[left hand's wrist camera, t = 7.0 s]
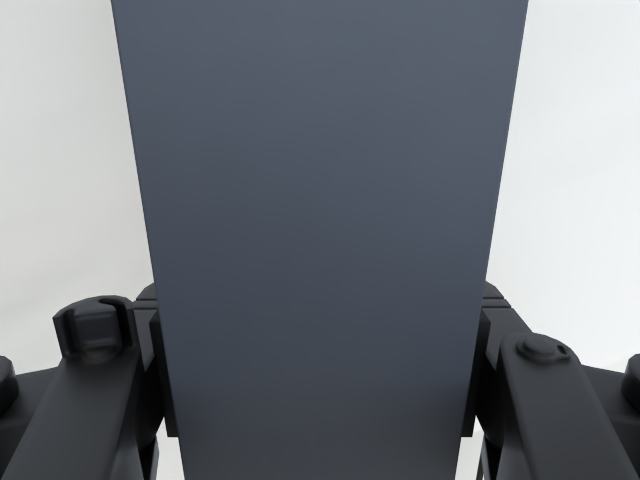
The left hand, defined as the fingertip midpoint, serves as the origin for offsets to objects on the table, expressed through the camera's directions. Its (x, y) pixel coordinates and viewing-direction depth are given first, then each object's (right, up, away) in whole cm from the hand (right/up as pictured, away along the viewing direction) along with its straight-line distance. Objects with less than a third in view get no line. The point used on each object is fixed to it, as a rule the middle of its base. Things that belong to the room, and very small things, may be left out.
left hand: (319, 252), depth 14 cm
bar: (0, +7, -2) cm, 7 cm away
